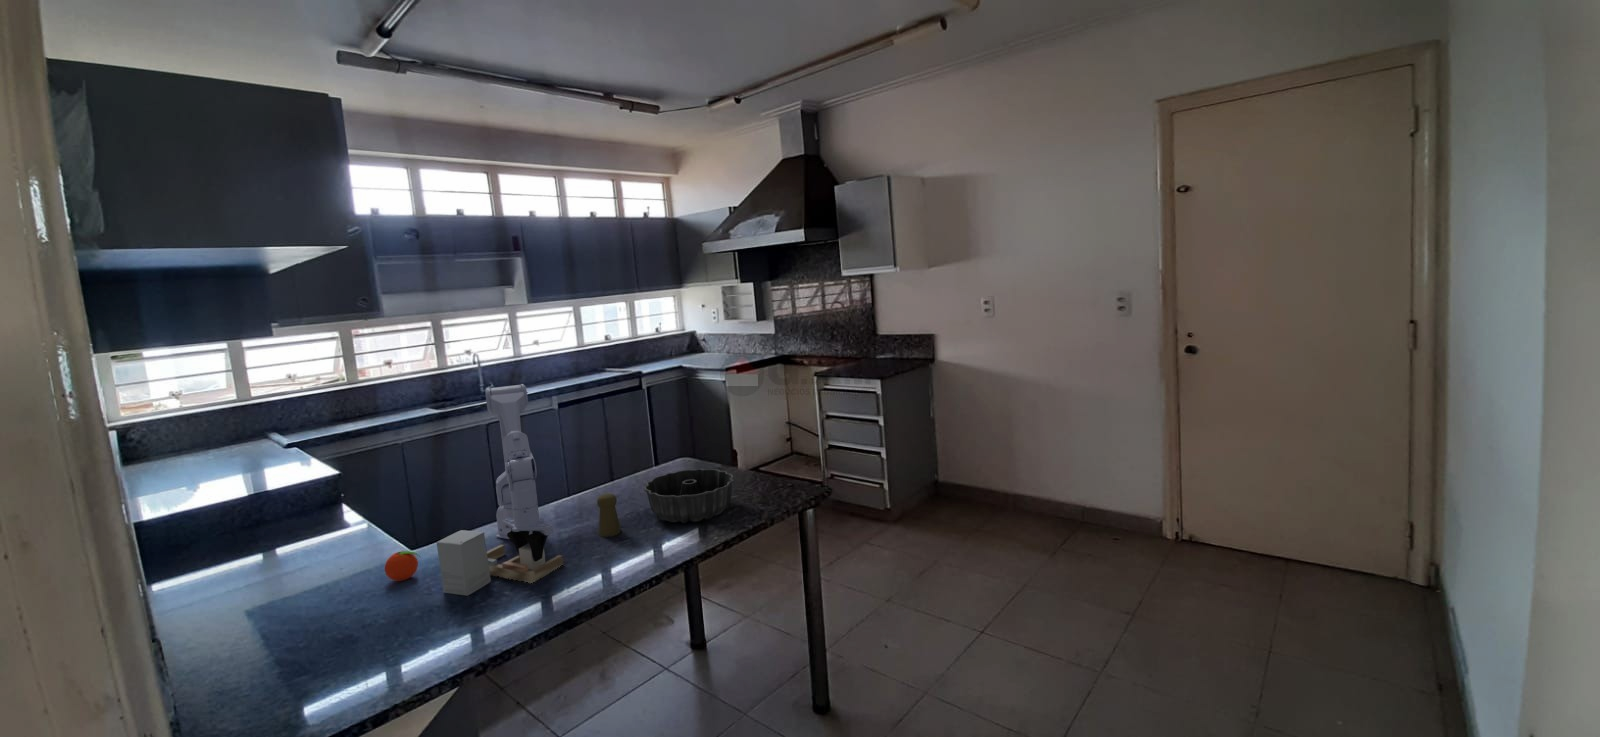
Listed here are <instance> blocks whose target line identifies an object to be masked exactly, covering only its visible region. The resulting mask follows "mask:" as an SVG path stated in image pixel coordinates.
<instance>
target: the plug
mask: <svg viewBox="0 0 1600 737" xmlns="http://www.w3.org/2000/svg"><path fill="white" fill-rule="evenodd" d="M519 555H520V564H522V565H527V566H528V570H530V571H531V570H533V569H535V568H537V567H538V566H540V565H542V564H544V563H545V562H546V554H545V548H544V549H543V556H542V559H540V560H538V561H534V560H533V557H532V551H531V547H530V545H529V543H528V544H526V545H525V546H523V547H521V548H519Z"/></svg>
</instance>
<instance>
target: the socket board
mask: <svg viewBox="0 0 1600 737" xmlns="http://www.w3.org/2000/svg"><path fill="white" fill-rule="evenodd" d="M505 549H506V548H505V545H504V544H499V545H498V546H495V547H494V548H491V549H489V550H487V557H488V564H489V572H490V576H492V577H497V576H499V577H498V578H502V577H503V579H507V580H511V579H513V581H516V580H518V582H521V581H524V582H523V583H526V582H528V583H527V584H531V583H532V584H534V583H535V582H537V581H538V580H540V578H541V579H542V578H543V577H545V576H548V575H549V574H551V573H552V571H553V570H554V571H556V570H558V569H559V568H561V567H562V566H561V565H563V566H564V558H563V555H560V554H557V555H556V556H555V557H552V558H551V559H549V560H546V561H545V563H544V564H542V565H540V566H538V567H537V568H535V569H533V570H530V569H528V566H527V565H522V564H520V557H519V555H517V556H515V557H512V558H510V559H509V560H507V561H504V562H502V563H501V564H499V563H498V559H499V558H501V557H503V556H505V555H506V550H505ZM560 566H561V567H560ZM558 567H559V568H558ZM557 568H558V569H557ZM555 569H556V570H555ZM554 571H553V572H554ZM550 572H551V573H550ZM508 578H509V579H508ZM533 582H534V583H533Z"/></svg>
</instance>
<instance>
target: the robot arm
mask: <svg viewBox="0 0 1600 737" xmlns="http://www.w3.org/2000/svg"><path fill="white" fill-rule="evenodd" d="M484 394H485V399H486V400H485V401H486V407H487V413H489V415H490V416H496V417H497V419H498V421H499V426H500V435H501V436H500V438H501V443H502V452H503V459H504V460H503V461H504V469H505V470H504V471H503V472H502V473H501V474H500V475H499V476H498V477H497V478H496V481H495V484H496V486H495V490H496V496H497V497H496V498H497V505H498V508H497V510H496V512H495V513H496V515H495V516H496V524H497V533H498V534H496V536H495V537H496V538H501V539H506V540H510V541H511V543H512V544H513V546H514V548H515V550H516V552H517V554H518V555H519V548H521V547H523V546H525V545H526V544H528V543H529V545H530V547H531V551H532V557H533V560H534V561H538V560H540V559H542V556H543V549H544V550H545V544H546V541H547V539H548V537H549V535H551V534H553V533H554V526H553V524H549V523H547V522H546V521H544V520H541V519H540V513H539V504H538V495H537V484H536V479H537V474H538V472H537V463H536V460H535V458H534V456H533V452H532V451H531V449H530V443H529V439H528V435H527V433H524V432H522V426H521V423H522V422H521V412H523V411H525V410H526V408H527V407H528V404H529V398H528V390H527V386H526V385H525V384H524V383H520V384H516V385H506V386H498V387H487V388H486V389H485V393H484ZM518 555H517V556H518ZM519 557H520V555H519Z"/></svg>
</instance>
